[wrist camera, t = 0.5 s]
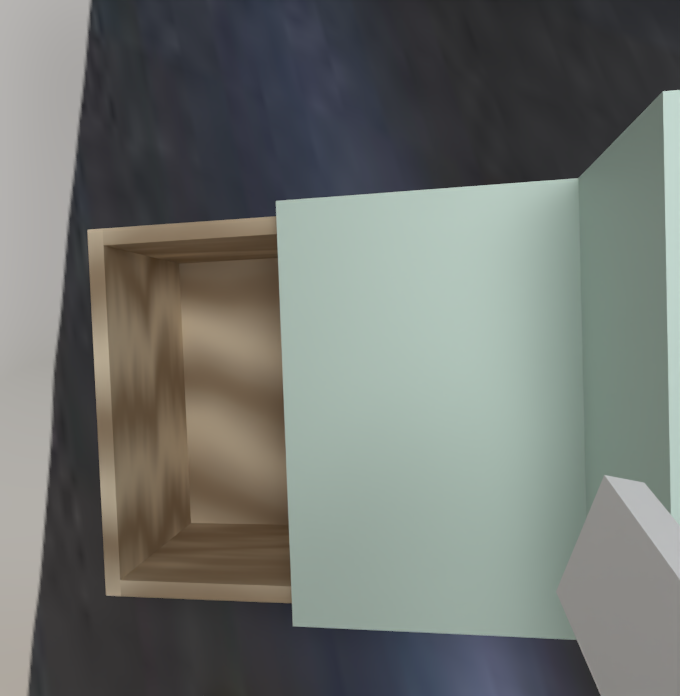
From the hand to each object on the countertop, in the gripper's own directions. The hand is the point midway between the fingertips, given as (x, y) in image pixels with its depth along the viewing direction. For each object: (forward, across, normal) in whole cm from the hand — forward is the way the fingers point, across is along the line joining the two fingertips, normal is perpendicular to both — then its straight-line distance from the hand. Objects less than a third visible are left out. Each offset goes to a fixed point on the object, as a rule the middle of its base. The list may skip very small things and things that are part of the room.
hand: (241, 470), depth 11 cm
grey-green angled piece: (+20, +8, -6) cm, 22 cm away
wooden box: (+24, -2, -10) cm, 26 cm away
